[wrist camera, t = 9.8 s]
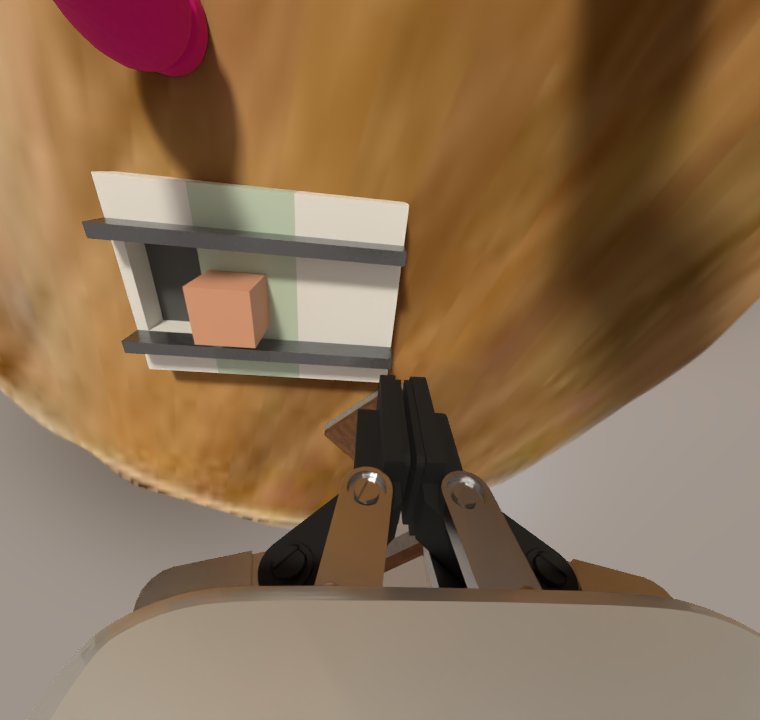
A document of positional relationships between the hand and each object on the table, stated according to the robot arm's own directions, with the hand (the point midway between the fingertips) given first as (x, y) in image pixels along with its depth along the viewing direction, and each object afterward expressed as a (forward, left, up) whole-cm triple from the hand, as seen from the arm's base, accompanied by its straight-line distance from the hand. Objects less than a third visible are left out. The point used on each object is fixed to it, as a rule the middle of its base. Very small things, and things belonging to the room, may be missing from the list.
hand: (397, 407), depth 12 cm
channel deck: (+10, +4, -23) cm, 26 cm away
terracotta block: (+13, +4, -20) cm, 24 cm away
